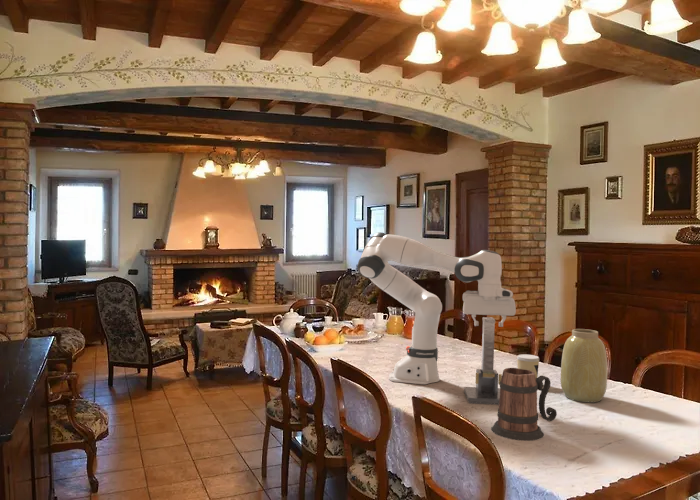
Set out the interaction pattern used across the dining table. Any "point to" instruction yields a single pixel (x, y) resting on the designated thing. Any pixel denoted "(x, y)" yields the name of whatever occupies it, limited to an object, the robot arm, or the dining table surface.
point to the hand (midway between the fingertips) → (488, 326)
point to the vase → (584, 366)
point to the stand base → (484, 389)
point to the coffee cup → (528, 363)
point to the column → (488, 345)
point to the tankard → (521, 405)
